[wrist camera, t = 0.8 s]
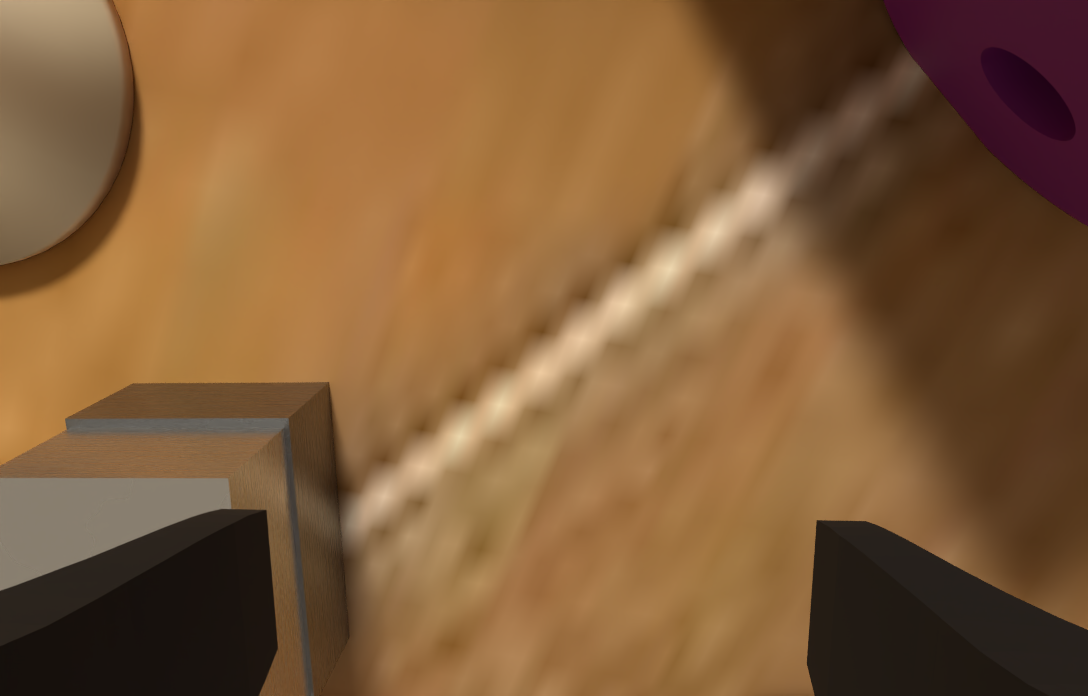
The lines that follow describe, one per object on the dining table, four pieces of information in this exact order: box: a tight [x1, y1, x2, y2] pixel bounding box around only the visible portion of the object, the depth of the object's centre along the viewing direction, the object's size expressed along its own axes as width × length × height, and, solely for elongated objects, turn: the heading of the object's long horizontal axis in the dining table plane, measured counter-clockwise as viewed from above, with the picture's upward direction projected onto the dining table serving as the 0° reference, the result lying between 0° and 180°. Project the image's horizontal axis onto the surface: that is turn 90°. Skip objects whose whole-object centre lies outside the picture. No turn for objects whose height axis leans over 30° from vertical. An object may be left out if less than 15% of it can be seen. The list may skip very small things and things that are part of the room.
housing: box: [0, 382, 349, 696], centre depth 20 cm, size 7×5×6 cm
